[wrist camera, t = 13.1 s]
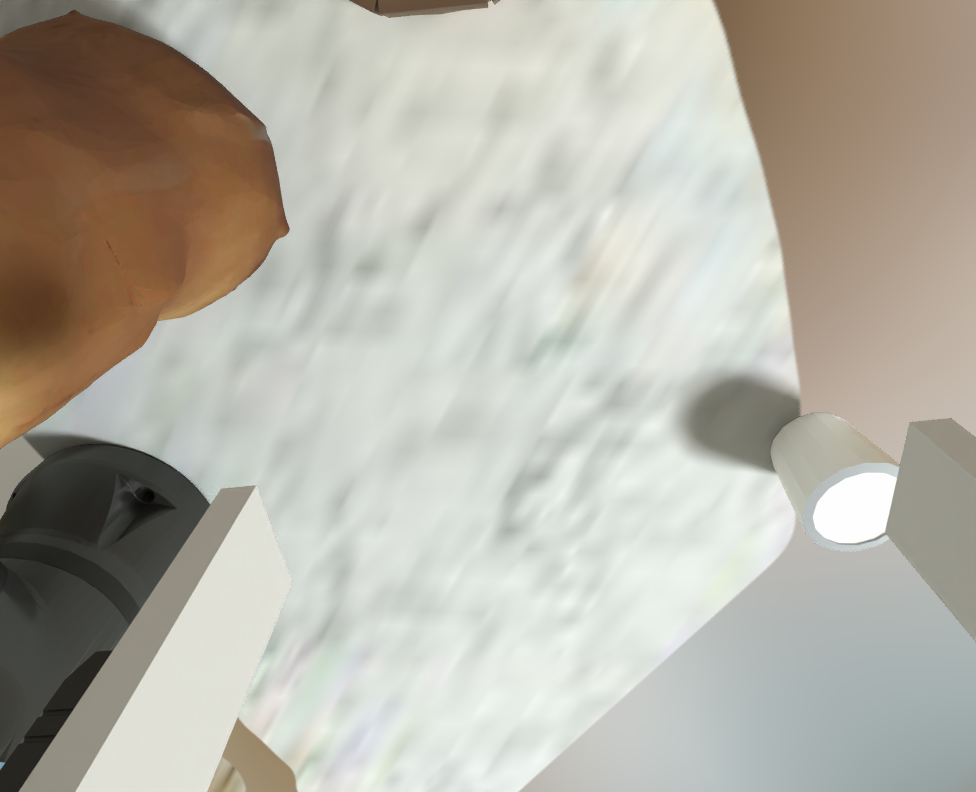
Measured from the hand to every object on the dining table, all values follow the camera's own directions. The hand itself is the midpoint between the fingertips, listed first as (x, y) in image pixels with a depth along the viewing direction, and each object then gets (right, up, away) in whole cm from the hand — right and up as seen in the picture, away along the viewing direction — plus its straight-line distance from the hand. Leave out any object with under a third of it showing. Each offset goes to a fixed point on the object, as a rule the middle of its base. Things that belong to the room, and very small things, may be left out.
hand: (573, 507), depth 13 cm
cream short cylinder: (+21, -1, +30) cm, 37 cm away
